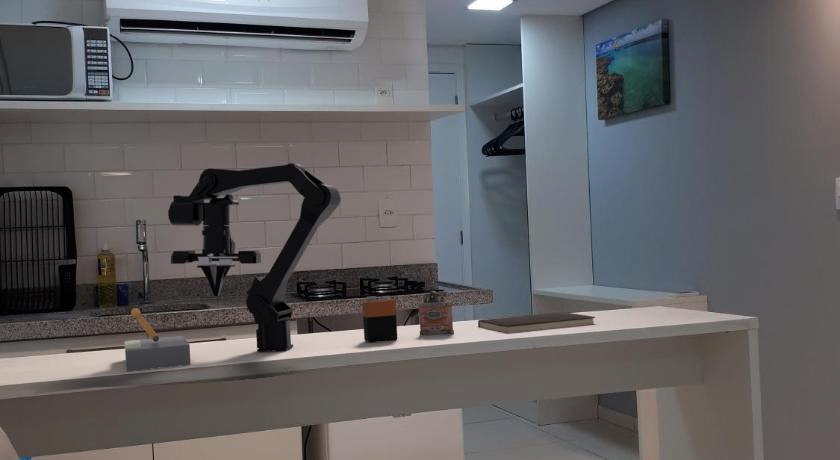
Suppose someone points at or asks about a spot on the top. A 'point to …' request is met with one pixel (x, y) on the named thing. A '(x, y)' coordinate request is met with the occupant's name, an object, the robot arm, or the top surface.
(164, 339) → the block
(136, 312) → the lever
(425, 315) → the red perfume bottle
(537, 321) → the hardcover book
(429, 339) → the top surface
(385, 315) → the battery
